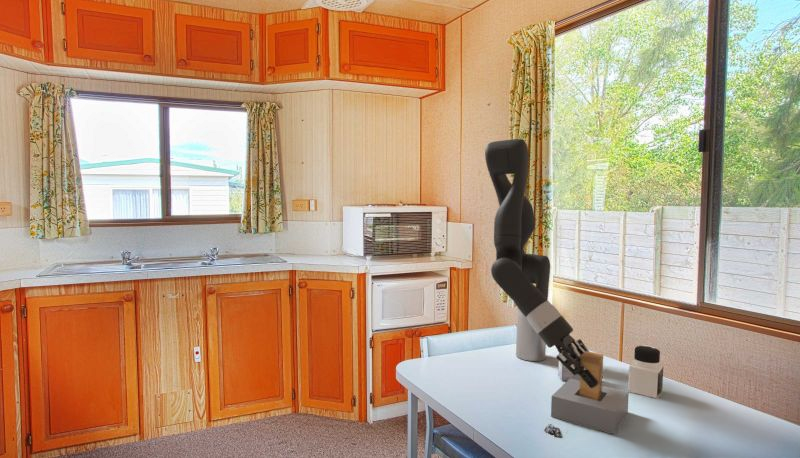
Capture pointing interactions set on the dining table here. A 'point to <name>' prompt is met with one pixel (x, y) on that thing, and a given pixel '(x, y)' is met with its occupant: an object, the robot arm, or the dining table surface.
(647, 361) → the medicine bottle
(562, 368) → the medicine box
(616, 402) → the socket block
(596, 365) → the wooden peg
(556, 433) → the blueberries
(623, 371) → the dining table surface
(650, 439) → the dining table surface
